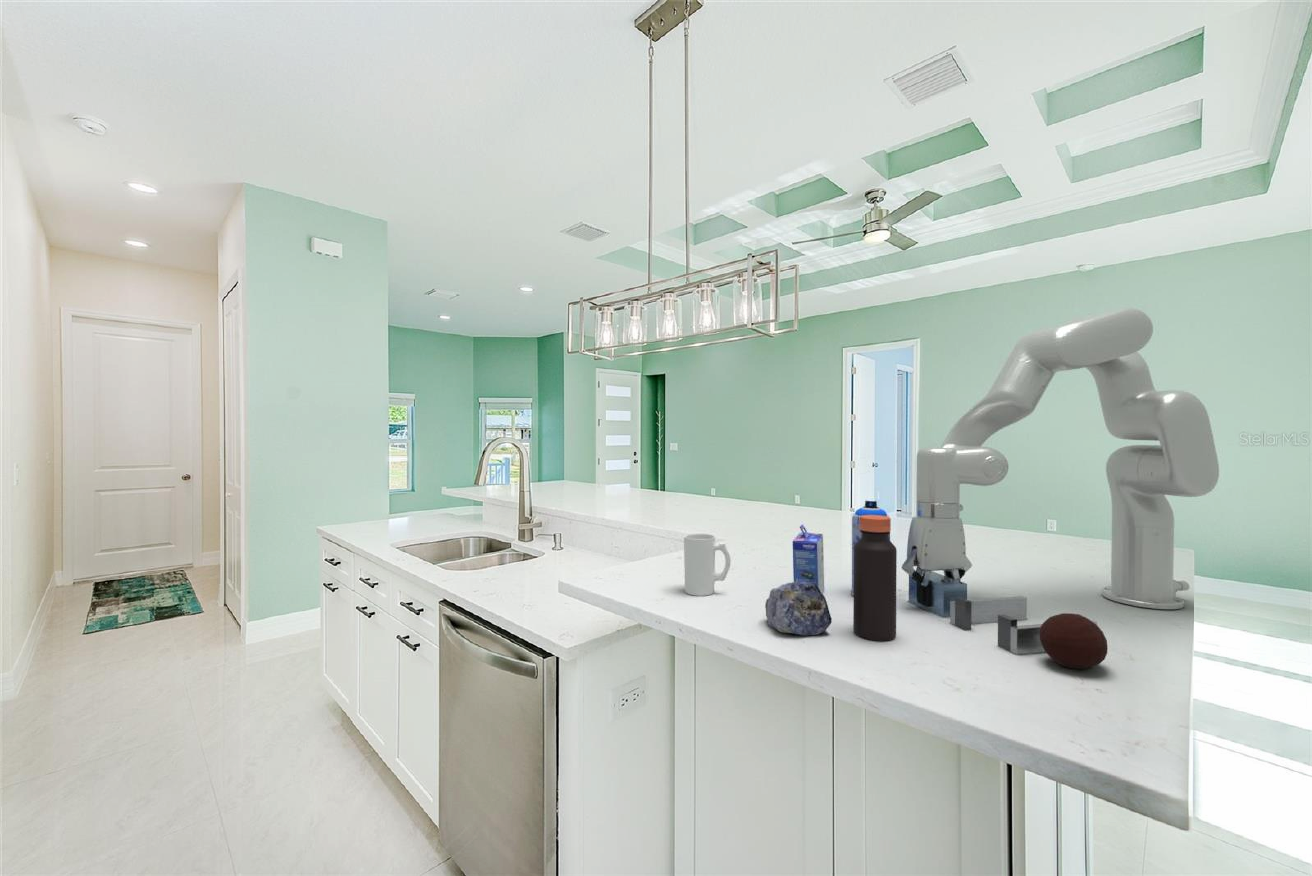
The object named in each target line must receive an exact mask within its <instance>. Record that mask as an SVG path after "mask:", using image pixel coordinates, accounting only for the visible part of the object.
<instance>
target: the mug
mask: <svg viewBox="0 0 1312 876" xmlns="http://www.w3.org/2000/svg"><path fill="white" fill-rule="evenodd" d="M716 551H720V552H721V553H723V555H724V559H725V564H724V568H723V570H722V571H721V572H720V573H718V572H716V570H715V567H716ZM683 552H684V553H683V557H684V559H683V561H684V562H683V563H684V589H685V590H684V592H685V593H686V594H687V593H688V595H690V596H696V597H706V596H711V595H713V594H714V593H715V583H716V582H718V581H720V582H723V581H725V580H726V578H727V576H728V572H729V571H730V567H731V561H732V560H731V555H730V552H729V549H728V547H727V543H726V542H720V543H718V544H717V543H716V535H713V534H708V533H688V534H685V535H684V536H683Z"/></svg>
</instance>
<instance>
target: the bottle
mask: <svg viewBox="0 0 1312 876" xmlns="http://www.w3.org/2000/svg"><path fill="white" fill-rule="evenodd" d="M891 522H892V521H891V517H890V516H889V517H886V516H879V515H863V516H860V532H861V533H862V537H861V538H860V539H859V540H858V541H857V542H856V543H855V544H854V597H853V607H852V608H853V612H852V613H853V619H852V620H853V621H852V623H853V624H852V625H853V633H854V634H855V635H857V636H859V638H860V637H861V638H863V639H866V640H870V641H877V642H884V641H885V642H886V641H892V640H894V639H895V638H896V636H897V567H898V566H897V561H898V560H897V559H898V558H897V557H898V556H897V547H896V546H895V545H894V543H893V542H892V541H891V539H890V540H889V539H888V534H890V535H891V529H892V528H891ZM889 531H890V532H889Z"/></svg>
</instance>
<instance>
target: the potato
mask: <svg viewBox="0 0 1312 876" xmlns="http://www.w3.org/2000/svg"><path fill="white" fill-rule="evenodd" d="M1092 621H1093V620H1091V619H1089V618H1088V617H1086V616H1084V615H1081V614H1080V613H1070V612H1069V613H1067V612H1066V613H1059V614H1055V615H1052V616H1049V617H1048V618H1047V619H1046V620H1045V621H1044V622H1042V623H1041V624H1042V625H1041V628H1040V631H1039V635H1040V641H1041V644H1042V646H1043V648H1044V650H1045V652H1044V653H1046V654H1047V655H1048V656H1049V657H1050V659H1052V660H1053V661H1055V662H1056V663H1058V664H1060V665H1062V666H1065V667H1067V668H1070V669H1075V670H1076V669H1077V670H1089V669H1092V668H1094V667H1096V666H1098V665H1100V664H1101V663H1103V662H1104V661H1105V659H1106V657H1107V655H1108V650H1109V649H1108V648H1109V647H1108V641H1107V638H1106V636H1105V634H1104V632H1103V630H1102V629H1101V628H1100V627H1099V626H1098V624H1097V625H1096V624H1095V623H1094V622H1095V621H1094V622H1092Z"/></svg>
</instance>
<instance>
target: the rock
mask: <svg viewBox="0 0 1312 876" xmlns="http://www.w3.org/2000/svg"><path fill="white" fill-rule="evenodd" d="M769 592H770V593H769V596H768V598H767V599H766V600H765V603H764V604H765V607H764V608H765V617H766V618H767V622H768V625H769V626H770V627H772V628H774V629H776V630H777V631H779V632H780V633H783V634H795V635H800V636H804V637H806V636H818V635H820V634H822V633H824V632H825V631H826V630H827V629H828V628H829V627H830V626H831V624H832V619H833V618H832V616H831V612H830V610H829V605H828V602H827V599H826V596H825V595H824V594H823V593H821V591H820V589H819V588H818V587H817V585H816V584H815V583H814V582H794V581H792V582H787V583H786V584H785V583H784V584H782V585H780V586H778V587H776V588H775V587H774V588H771V590H770V591H769Z"/></svg>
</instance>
